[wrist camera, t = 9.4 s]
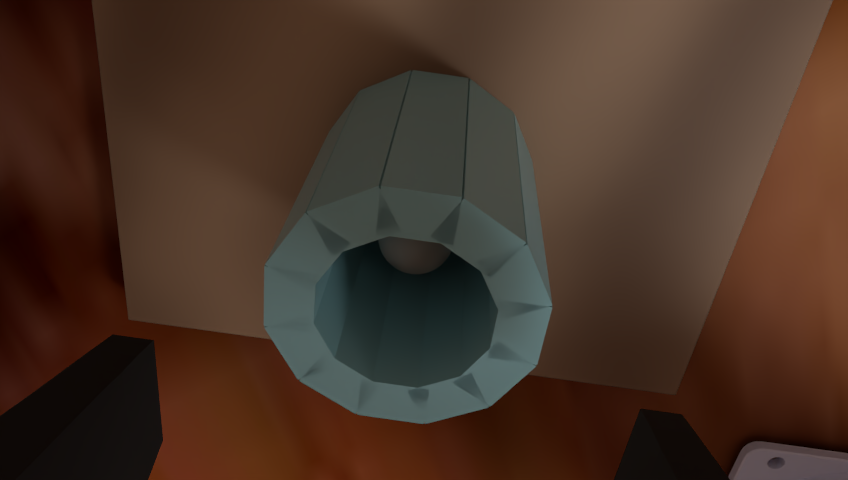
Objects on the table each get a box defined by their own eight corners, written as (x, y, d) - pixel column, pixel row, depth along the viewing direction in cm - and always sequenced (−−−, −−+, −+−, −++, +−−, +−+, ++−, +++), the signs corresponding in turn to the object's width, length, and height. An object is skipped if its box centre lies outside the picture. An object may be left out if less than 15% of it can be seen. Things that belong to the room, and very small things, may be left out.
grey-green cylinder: (548, 88, 17) (577, 213, 12) (508, 269, 19) (518, 437, 14) (333, 58, 17) (265, 169, 11) (322, 243, 19) (262, 400, 14)
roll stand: (828, -48, 16) (958, 6, 11) (668, 372, 22) (712, 509, 18) (97, -148, 16) (-48, -133, 11) (142, 299, 22) (59, 418, 18)
